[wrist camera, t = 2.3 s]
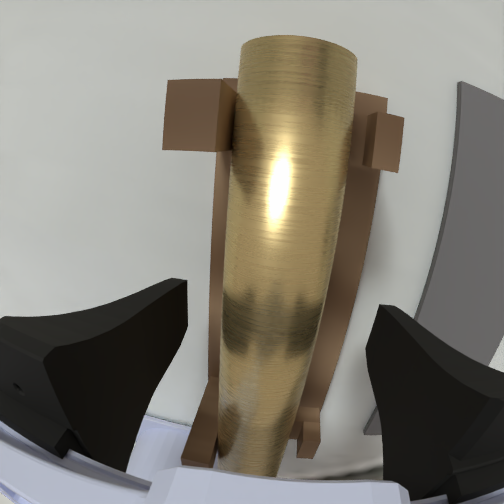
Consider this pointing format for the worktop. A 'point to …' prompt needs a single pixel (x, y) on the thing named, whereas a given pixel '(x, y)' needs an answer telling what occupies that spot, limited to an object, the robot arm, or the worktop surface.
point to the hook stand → (346, 253)
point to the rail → (279, 237)
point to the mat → (469, 238)
